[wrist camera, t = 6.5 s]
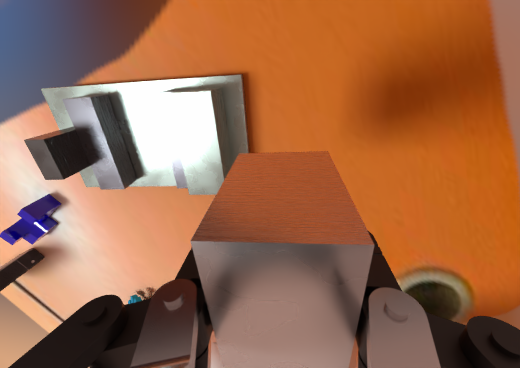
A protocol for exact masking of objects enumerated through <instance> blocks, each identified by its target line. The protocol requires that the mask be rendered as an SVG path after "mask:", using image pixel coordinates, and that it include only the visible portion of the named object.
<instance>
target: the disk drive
mask: <svg viewBox="0 0 520 368" xmlns="http://www.w3.org/2000/svg"><path fill="white" fill-rule="evenodd" d="M43 258H44V256H43V255H42V254H40V253H39V252H38V251H36V250H35V249H34V248H32V249H29V250H28V251H26V252H24V253H23V254H20V255H18V256H17V257H15V258H14V259H12V260H11V261H9V262H8V263H6V264H5V265H3V266H2V267H0V291H1V290H3V289H4V288H5V287H7V286H8V285H9V284H10V283H12V282H13V281H15V280H16V279H17V278H18V277H20V276H21V275H22V274H24V273H25V272H26V271H27V270H28V269H30V268H32V267H33V266H34V265H35V264H37V263H38V262H39V261H40V260H42V259H43Z"/></svg>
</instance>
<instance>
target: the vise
mask: <svg viewBox="0 0 520 368" xmlns="http://www.w3.org/2000/svg"><path fill="white" fill-rule="evenodd" d="M41 90H42V92H43V94H44V97H45V99H46V101H47V103H48V105H49V107H50V110H51V112H52V114H53V116H54V118H55V120H56V123H57V125H58V127H59V129H60V130H62V129H66V128H69V127H73V123H72V121H71V119H70V117H69V114H68V112H67V110H66V107H65V105H64V103H63V100H62V99H67V98H74V97H81V96H94V95H108V97H109V99H110V102H111V105H112V108H113V111H114V114H115V117H116V120H117V123H118V126H119V128H120V131H121V134H122V137H123V140H124V143H125V146H126V149H127V152H128V155H129V158H130V160H131V163H132V166H133V169H134V172H135V175H136V178H137V180H136V181H135V182H133V183H132V184H131V185H129V186H177V188H188V191H189V195H211V194H217V192H218V191H219V189H220V187H221V185H222V183H223V182H224V180H225V178H226V176H227V174H228V172H229V171H230V169H231V167H232V165H233V163H234V162H235V160H236V158H237V156H238V154H241V153H250V150H249V139H248V128H247V117H246V106H245V95H244V83H243V74H241V75H227V76H213V77H198V78H184V79H170V80H156V81H142V82H128V83H114V84H99V85H85V86H71V87H57V88H44V89H41ZM79 172H80V174H81V176H82V179H83V181H84V183H85V185H86V187H100V186H99V183H98V181H97V179H96V177H95V174H94V172H93V170H92V167H91V166H89V167H87V168H85V169H83V170H81V171H79Z"/></svg>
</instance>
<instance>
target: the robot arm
mask: <svg viewBox="0 0 520 368" xmlns="http://www.w3.org/2000/svg"><path fill="white" fill-rule="evenodd" d="M367 231H368V230H367ZM368 233H369V235H370V237H371V239H372V241H373V243H374V250H373V255H372V259H371V264H370V269H369V274H368V278H367V283H366V288H365V293H364V297H363V302H362V307H361V312H360V316H359V321H358V326H357V330H356V335H355V340H354V345H353V349H352V354H351V359H350V364H349V368H520V330H519V329H517V328H516V327H513V326H512V325H510V324H508V323H506V322H504V321H501V320H498V319H496V318H492V317H487V316H477V317H473V318H471V319H470V320H469V321H468V323H467V325H463V324H460V323H457V322H453V321H450V320H447V319H444V318H441V317H438V316H435V315H432V314H430V313H428V312H426V311H424V309H423V308H422V307H421V305H420V304H419V303H418V302H417V301H416V300H415V299H414V298H412V297H411V296H409V295H408V294H406V293H404V292H402V290H401V288H400V286H399V285H398V283H397V281H396V279H395V277H394V275H393V273H392V271H391V269H390V267H389V265H388V263H387V261H386V259H385V258H384V256H383V255H382V252H381V250H380V248H379V247H378V244H377V242H376V240H375V238H374V236H373V235H372V234H371V233H370V232H369V231H368ZM212 331H213V326H212V322H211V319H210V315H209V311H208V307H207V303H206V299H205V295H204V291H203V288H202V284H201V280H200V276H199V272H198V268H197V264H196V260H195V257H194V253H193V249H192V248H191V250H190V252H189V254H188V255H187V257H186V259H185V261H184V263H183V265H182V267H181V269H180V271H179V272H178V274H177V276H176V278H175V280H172V281H170V282H168V283H166V284H164V285H163V286H161V287H160V288H159V289H158V290H157V291H156V292H155V293H154V295H153V296H152V298H150V299H147V300H143V301H139V302H135V303H131V304H126V305H124V304H123V302H122V300H121V299H120V298H119V297H118V296H116V295H104V296H101V297H98V298H95V299H93V300H91V301H90V302H88V303H86V304H85V305H84V306H82V307H81V308H80V309H79V310H77V311H76V312H75V313H74V314H73V315H71V316H70V317H69V318H68V319H67V320H65V321H64V322H63V323H62V324H60V325H59V326H58V327H57V328H56V329H54V330H53V331H52V332H51V333H50V334H49V335H47V336H46V337H45V338H44V339H42V340H41V341H40V342H39V343H38V344H37V345H35V346H34V347H33V348H31V350H29V351H28V352H27V353H25V354H24V355H23V356H22V357H21V358H19V359H18V360H17V361H16V362H15V363H13V364H12V365H11V366H10V367H9V368H88V367H90V368H211V339H210V338H211V334H212Z"/></svg>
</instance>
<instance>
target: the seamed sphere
mask: <svg viewBox="0 0 520 368" xmlns="http://www.w3.org/2000/svg"><path fill="white" fill-rule="evenodd" d="M210 339H211V368H223V365H222V361H221V357H220V353H219V350H218V346H217V342H216V338H215V334H214V331H212V334H211V338H210Z"/></svg>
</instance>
